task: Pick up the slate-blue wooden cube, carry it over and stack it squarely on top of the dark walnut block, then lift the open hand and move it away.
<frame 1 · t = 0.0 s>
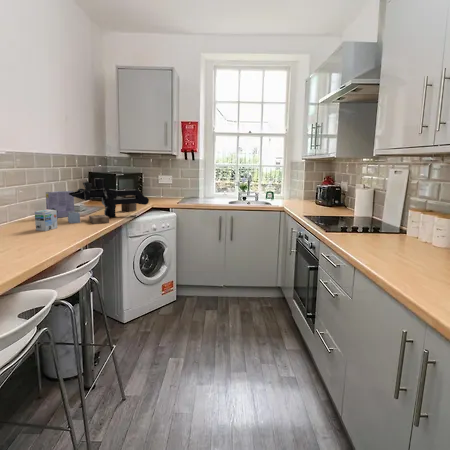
hand: (70, 194, 237), 17 cm above the worktop, tool horizontal, fingers open, 9 cm apart
light bulb box: (46, 229, 209), on the worktop
cake pan box: (61, 217, 250), on the worktop
slate-blue cube: (74, 222, 232), on the worktop
walnut block: (99, 222, 235), on the worktop
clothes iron: (131, 210, 286), on the worktop
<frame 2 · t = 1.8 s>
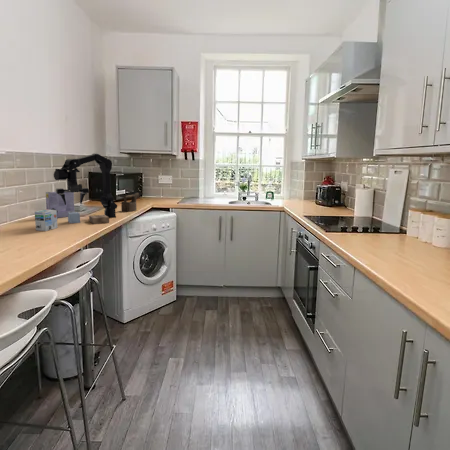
hand: (73, 204, 230), 11 cm above the worktop, tool pointing down, fingers open, 9 cm apart
nothing on the worktop moved.
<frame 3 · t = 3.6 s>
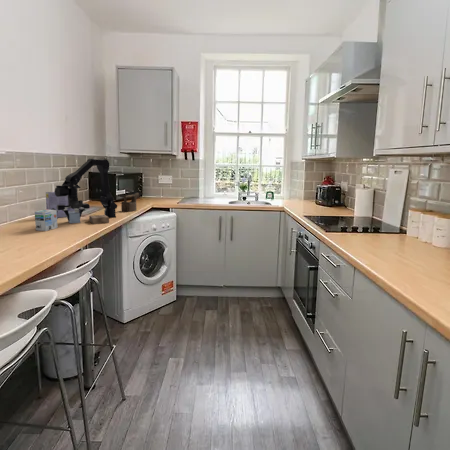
hand: (74, 220, 232), 1 cm above the worktop, tool pointing down, fingers closed on slate-blue cube, 6 cm apart
slate-blue cube: (74, 222, 232), on the worktop, touching gripper
everything else where it was.
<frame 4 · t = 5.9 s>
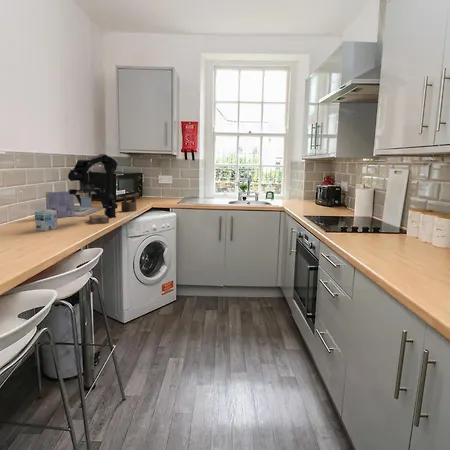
hand: (85, 204, 231), 11 cm above the worktop, tool pointing down, fingers closed on slate-blue cube, 6 cm apart
slate-blue cube: (85, 206, 232), point 10 cm above the worktop, touching gripper
everything else where it was.
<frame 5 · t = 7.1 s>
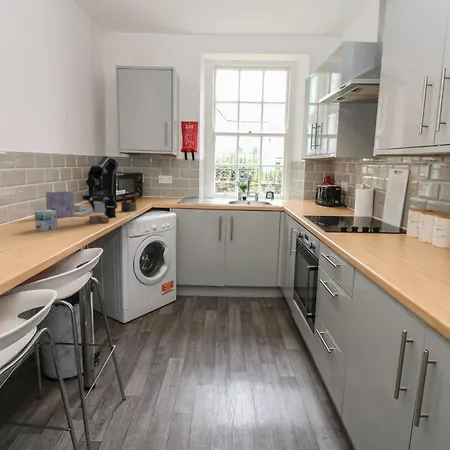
hand: (98, 210, 233), 8 cm above the worktop, tool pointing down, fingers closed on slate-blue cube, 6 cm apart
slate-blue cube: (98, 212, 233), point 6 cm above the worktop, touching gripper
everything else where it was.
when the fingers open (7 cm above the worktop, at t = 8.1 s): slate-blue cube drops 2 cm, point 4 cm above the worktop.
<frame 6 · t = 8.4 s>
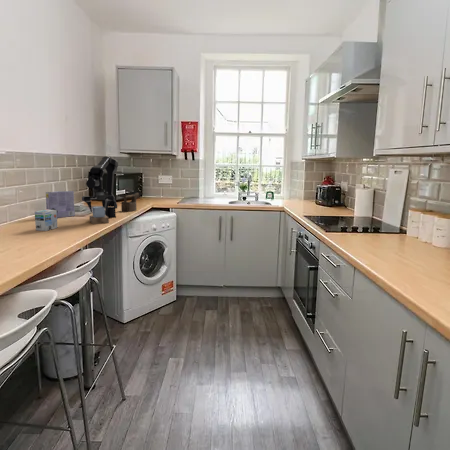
hand: (98, 211, 233), 7 cm above the worktop, tool pointing down, fingers open, 9 cm apart
slate-blue cube: (98, 216, 234), point 4 cm above the worktop
everything else where it was.
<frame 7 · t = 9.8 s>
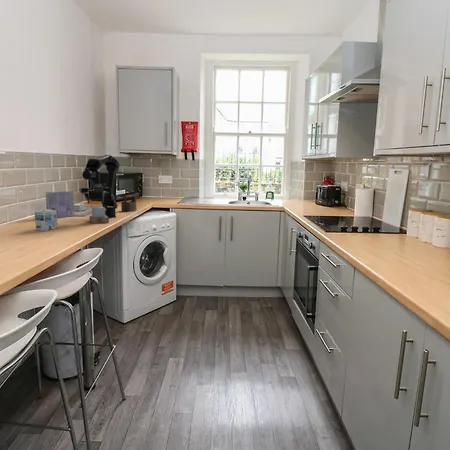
hand: (96, 203, 234), 12 cm above the worktop, tool pointing down, fingers open, 9 cm apart
slate-blue cube: (98, 216, 234), point 4 cm above the worktop, touching walnut block
walnut block: (99, 222, 235), on the worktop, touching slate-blue cube
everything else where it was.
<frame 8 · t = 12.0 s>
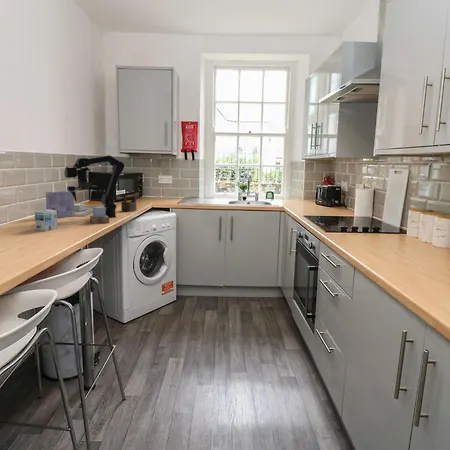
hand: (83, 201, 241), 12 cm above the worktop, tool pointing down, fingers open, 9 cm apart
slate-blue cube: (99, 216, 234), point 4 cm above the worktop
walnut block: (99, 222, 235), on the worktop
everything else where it was.
at the end: slate-blue cube 0.3 cm off-centre on the walnut block, point 4.0 cm above the walnut block's base; slate-blue cube tilted 0°; slate-blue cube touching walnut block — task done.
